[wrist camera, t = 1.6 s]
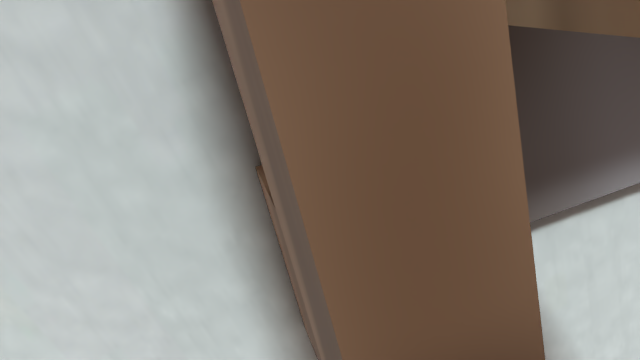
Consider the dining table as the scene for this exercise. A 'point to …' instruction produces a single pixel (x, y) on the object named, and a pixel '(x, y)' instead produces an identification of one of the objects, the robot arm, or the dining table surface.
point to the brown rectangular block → (392, 173)
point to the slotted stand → (576, 98)
